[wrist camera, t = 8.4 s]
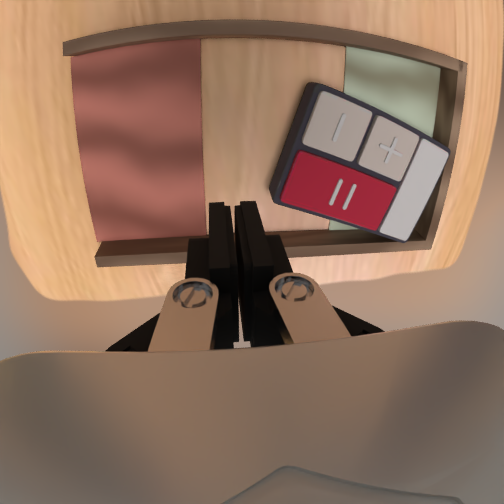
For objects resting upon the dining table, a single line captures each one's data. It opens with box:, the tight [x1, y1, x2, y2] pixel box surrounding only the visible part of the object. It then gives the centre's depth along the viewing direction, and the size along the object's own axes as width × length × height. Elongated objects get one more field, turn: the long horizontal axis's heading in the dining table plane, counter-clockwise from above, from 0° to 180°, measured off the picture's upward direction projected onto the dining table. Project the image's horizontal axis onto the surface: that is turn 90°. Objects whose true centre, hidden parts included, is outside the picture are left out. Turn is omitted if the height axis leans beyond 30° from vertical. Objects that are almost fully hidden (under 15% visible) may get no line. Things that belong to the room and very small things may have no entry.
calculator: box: [269, 82, 451, 243], centre depth 28 cm, size 11×4×15 cm
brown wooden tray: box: [63, 20, 467, 267], centre depth 26 cm, size 21×36×3 cm, turn 89°
